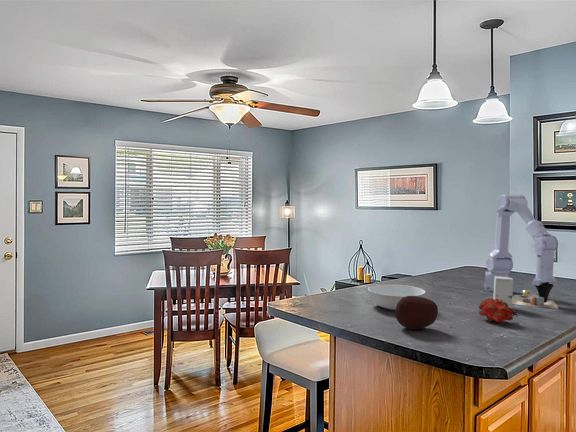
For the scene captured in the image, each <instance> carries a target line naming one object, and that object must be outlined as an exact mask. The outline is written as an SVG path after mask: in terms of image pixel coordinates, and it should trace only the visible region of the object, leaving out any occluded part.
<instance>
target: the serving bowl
mask: <svg viewBox="0 0 576 432" xmlns="http://www.w3.org/2000/svg"><path fill="white" fill-rule="evenodd" d="M367 293H368V297H369V299H370V301H372V302H373V303H374V304H375V305H376V306H378V307H381V308H384V309H387V310H389V311H396V306H397V304H398V302H399V301H400V300H401V299H402V298H403V297H406V296H418V297H423V298H426V293H427V292H426V290H424V288H420V287H417V286H412V285H406V284H389V283H387V284H386V283H385V284H375V285H371V286H368V288H367Z"/></svg>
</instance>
